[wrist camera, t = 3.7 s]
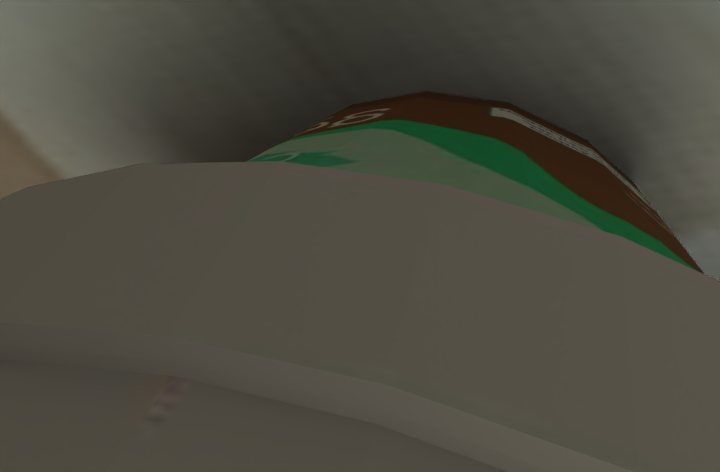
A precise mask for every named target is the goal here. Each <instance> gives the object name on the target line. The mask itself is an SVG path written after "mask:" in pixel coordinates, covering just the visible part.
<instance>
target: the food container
mask: <svg viewBox="0 0 720 472" xmlns="http://www.w3.org/2000/svg"><path fill="white" fill-rule="evenodd" d="M0 472H720V281H718V280H716V279H713V278H711V277H709V276H707V275H705V274H704V273H703V272H702V271H701V269H700V268H699V267H698V265H697V264H696V263H695V262H694V260H693V259H692V258H691V256H690V255H689V254H688V253H687V251H686V250H685V249H684V247H683V246H682V245H681V244H680V242H679V241H678V240H677V238H676V237H675V236H674V235H673V233H672V232H671V231H670V229H669V228H668V227H667V225H666V224H665V223H664V222H663V220H662V219H661V218H660V216H659V215H658V214H657V213H656V211H655V210H654V209H653V207H652V206H651V205H650V204H649V202H648V201H647V200H646V198H645V197H644V196H643V195H642V193H641V192H640V191H639V189H638V188H637V187H636V186H635V184H634V183H633V182H632V181H631V180H630V179H629V178H628V177H626V176H625V175H624V174H623V173H622V172H621V171H620V170H619V169H618V168H617V167H615V166H614V165H613V164H612V163H611V162H610V161H609V160H608V159H607V158H606V157H604V156H603V155H602V154H601V153H600V152H599V151H598V150H597V149H596V148H594V147H593V146H592V145H591V144H590V143H589V142H588V141H587V140H585V139H583V138H581V137H579V136H577V135H574V134H572V133H570V132H568V131H566V130H564V129H562V128H560V127H558V126H556V125H554V124H552V123H550V122H547V121H545V120H543V119H541V118H539V117H537V116H535V115H533V114H531V113H529V112H527V111H525V110H523V109H520V108H518V107H516V106H514V105H512V104H510V103H506V102H499V101H492V100H485V99H478V98H471V97H463V96H456V95H449V94H442V93H435V92H428V91H425V92H420V93H414V94H409V95H403V96H398V97H392V98H387V99H381V100H376V101H371V102H365V103H360V104H354V105H351V106H349V107H347V108H345V109H343V110H341V111H340V112H338V113H336V114H334V115H332V116H330V117H328V118H326V119H325V120H323V121H321V122H319V123H317V124H315V125H313V126H311V127H310V128H308V129H306V130H304V131H302V132H300V133H298V134H296V135H295V136H293V137H291V138H289V139H287V140H285V141H283V142H281V143H280V144H278V145H276V146H274V147H272V148H270V149H268V150H266V151H265V152H263V153H261V154H259V155H257V156H255V157H253V158H251V159H250V160H248V161H246V162H211V163H160V164H137V165H132V166H128V167H123V168H118V169H113V170H108V171H103V172H99V173H94V174H89V175H84V176H79V177H74V178H69V179H65V180H60V181H55V182H50V183H45V184H40V185H36V186H31V187H27V188H25V189H22V190H20V191H18V192H16V193H14V194H11V195H9V196H7V197H5V198H2V199H0Z"/></svg>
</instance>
